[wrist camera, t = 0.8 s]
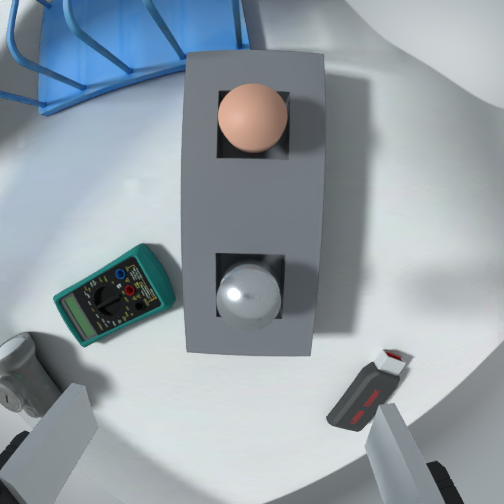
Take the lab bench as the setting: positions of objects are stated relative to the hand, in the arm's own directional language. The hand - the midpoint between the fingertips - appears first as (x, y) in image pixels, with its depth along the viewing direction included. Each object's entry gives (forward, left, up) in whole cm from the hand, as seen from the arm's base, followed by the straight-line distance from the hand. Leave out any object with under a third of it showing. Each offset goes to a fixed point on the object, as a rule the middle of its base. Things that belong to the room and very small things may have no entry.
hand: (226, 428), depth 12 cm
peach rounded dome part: (-11, +10, -17) cm, 23 cm away
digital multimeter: (-8, -14, -22) cm, 27 cm away
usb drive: (+21, +2, -22) cm, 31 cm away
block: (-6, +5, -21) cm, 23 cm away
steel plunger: (0, +1, -17) cm, 17 cm away
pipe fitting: (-8, -34, -22) cm, 41 cm away
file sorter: (-31, +8, -22) cm, 39 cm away
